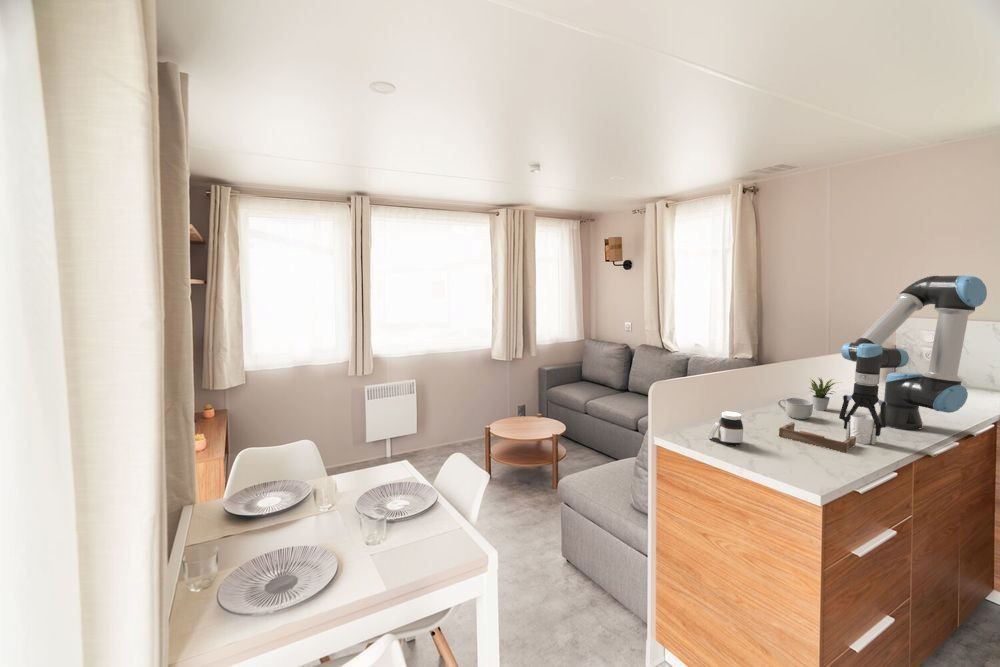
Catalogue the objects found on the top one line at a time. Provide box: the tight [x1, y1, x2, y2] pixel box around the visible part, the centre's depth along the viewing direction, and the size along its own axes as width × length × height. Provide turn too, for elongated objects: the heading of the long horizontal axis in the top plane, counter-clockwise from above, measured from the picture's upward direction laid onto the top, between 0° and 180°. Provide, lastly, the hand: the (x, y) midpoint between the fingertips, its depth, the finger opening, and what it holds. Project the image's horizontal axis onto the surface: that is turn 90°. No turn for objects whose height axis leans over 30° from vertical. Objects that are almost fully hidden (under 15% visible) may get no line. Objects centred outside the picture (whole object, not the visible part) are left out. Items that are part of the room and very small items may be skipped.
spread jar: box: [707, 410, 744, 447], centre depth 183 cm, size 12×11×12 cm
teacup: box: [777, 397, 814, 420], centre depth 216 cm, size 14×11×8 cm
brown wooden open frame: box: [778, 421, 857, 454], centre depth 185 cm, size 12×22×4 cm, turn 38°
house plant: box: [809, 377, 842, 412], centre depth 227 cm, size 14×14×16 cm
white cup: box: [849, 413, 875, 445], centre depth 184 cm, size 8×8×10 cm
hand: (860, 440), depth 185 cm, fingers closed on white cup, 8 cm apart
